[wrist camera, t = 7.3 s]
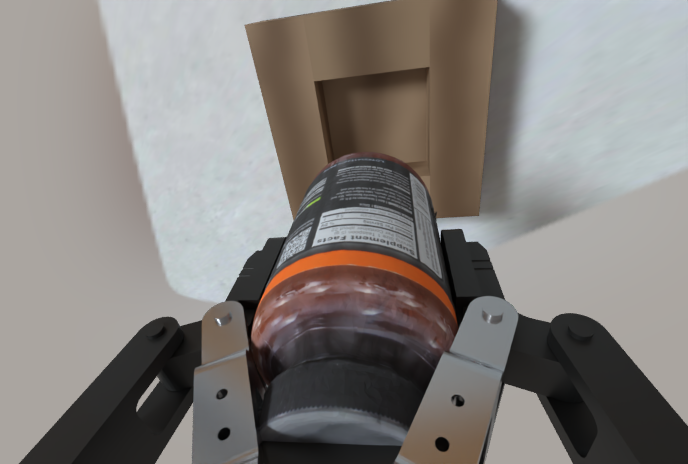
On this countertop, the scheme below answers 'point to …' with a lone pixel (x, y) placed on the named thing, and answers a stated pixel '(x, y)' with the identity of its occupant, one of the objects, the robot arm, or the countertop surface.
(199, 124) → the countertop surface
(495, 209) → the countertop surface
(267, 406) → the supplement bottle
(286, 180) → the walnut holder
